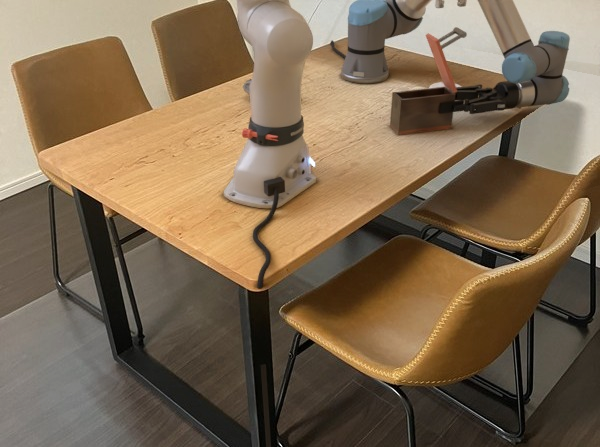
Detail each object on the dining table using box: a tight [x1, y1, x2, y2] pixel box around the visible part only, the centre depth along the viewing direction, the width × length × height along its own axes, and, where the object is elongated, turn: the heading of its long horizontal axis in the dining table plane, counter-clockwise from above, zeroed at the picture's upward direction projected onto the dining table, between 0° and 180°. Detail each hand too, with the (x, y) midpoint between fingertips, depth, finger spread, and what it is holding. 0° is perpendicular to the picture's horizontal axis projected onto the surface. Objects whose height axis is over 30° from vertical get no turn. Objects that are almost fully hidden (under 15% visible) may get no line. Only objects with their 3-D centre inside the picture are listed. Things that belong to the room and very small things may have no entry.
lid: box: [425, 26, 468, 93], centre depth 157 cm, size 16×6×8 cm
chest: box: [389, 87, 456, 136], centre depth 163 cm, size 15×6×10 cm, turn 105°
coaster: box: [428, 81, 463, 101], centre depth 182 cm, size 10×10×4 cm
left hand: (450, 6), depth 150 cm, fingers open, 4 cm apart
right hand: (434, 103), depth 163 cm, fingers closed on chest, 6 cm apart
